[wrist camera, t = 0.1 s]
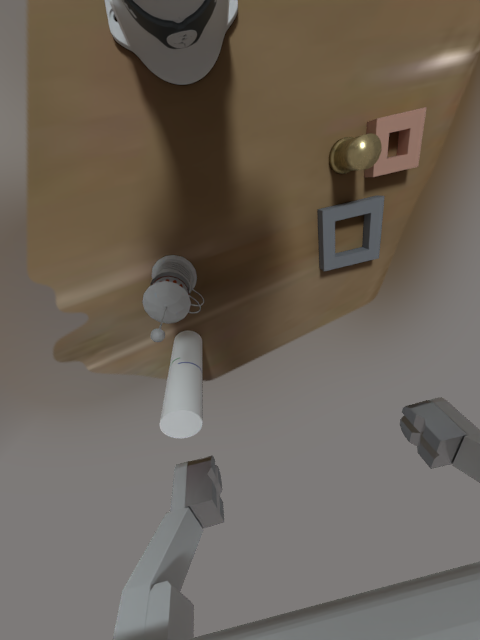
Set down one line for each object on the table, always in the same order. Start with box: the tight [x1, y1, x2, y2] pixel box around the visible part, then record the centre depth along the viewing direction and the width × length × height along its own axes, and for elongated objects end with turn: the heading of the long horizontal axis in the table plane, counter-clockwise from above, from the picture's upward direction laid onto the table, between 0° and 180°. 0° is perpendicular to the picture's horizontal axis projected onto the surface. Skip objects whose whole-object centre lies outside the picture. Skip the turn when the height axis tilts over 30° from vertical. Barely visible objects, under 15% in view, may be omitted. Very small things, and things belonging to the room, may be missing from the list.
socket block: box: [318, 196, 384, 271], centre depth 54 cm, size 13×13×2 cm
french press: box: [143, 255, 204, 342], centre depth 44 cm, size 10×12×25 cm
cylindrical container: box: [160, 330, 203, 438], centre depth 53 cm, size 7×7×25 cm
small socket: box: [364, 107, 426, 177], centre depth 47 cm, size 9×9×3 cm
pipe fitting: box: [329, 133, 382, 174], centre depth 44 cm, size 6×6×8 cm
